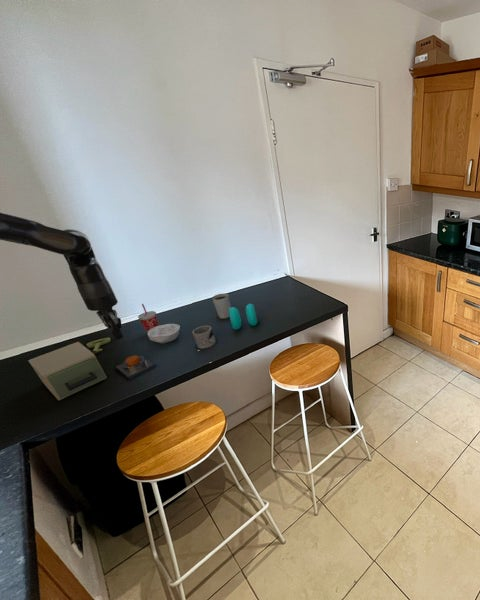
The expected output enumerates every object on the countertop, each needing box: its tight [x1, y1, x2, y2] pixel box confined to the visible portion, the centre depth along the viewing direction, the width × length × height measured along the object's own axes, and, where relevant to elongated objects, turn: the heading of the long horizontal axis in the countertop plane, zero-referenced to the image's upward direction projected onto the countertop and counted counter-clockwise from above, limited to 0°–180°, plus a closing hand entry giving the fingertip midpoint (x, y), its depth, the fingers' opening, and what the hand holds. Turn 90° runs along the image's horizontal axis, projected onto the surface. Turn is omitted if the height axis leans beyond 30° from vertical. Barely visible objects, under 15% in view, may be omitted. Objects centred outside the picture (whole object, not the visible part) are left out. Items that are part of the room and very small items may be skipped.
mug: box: [191, 324, 217, 350], centre depth 127 cm, size 10×7×7 cm
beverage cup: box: [137, 303, 160, 334], centre depth 132 cm, size 6×6×14 cm
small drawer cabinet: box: [27, 341, 108, 401], centre depth 105 cm, size 15×13×10 cm
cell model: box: [147, 323, 181, 344], centre depth 128 cm, size 10×12×7 cm
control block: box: [115, 355, 156, 380], centre depth 113 cm, size 10×8×3 cm
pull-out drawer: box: [47, 358, 106, 400], centre depth 104 cm, size 18×11×8 cm, turn 58°
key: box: [86, 337, 112, 354], centre depth 125 cm, size 7×12×2 cm, turn 54°
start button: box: [124, 355, 140, 366], centre depth 112 cm, size 4×4×2 cm
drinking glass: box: [211, 293, 232, 319], centre depth 146 cm, size 7×7×10 cm
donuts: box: [229, 303, 259, 330], centre depth 137 cm, size 10×10×10 cm
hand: (118, 338), depth 107 cm, fingers closed
